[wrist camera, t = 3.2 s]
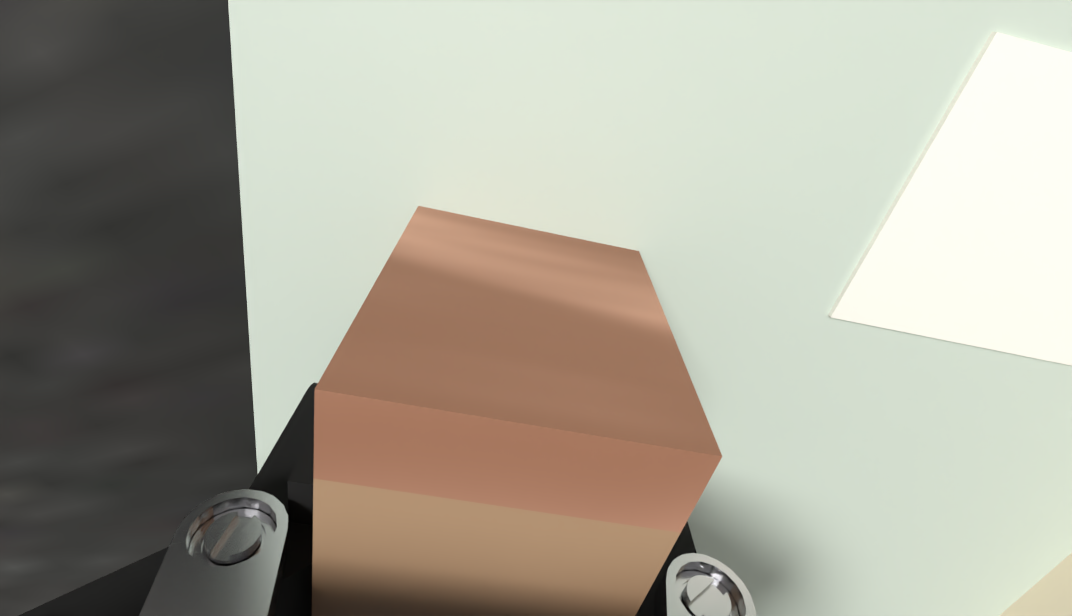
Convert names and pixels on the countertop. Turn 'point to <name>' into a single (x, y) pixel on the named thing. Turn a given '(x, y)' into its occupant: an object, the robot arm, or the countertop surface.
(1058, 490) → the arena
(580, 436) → the copper block
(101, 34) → the countertop surface
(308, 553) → the robot arm
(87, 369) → the countertop surface
